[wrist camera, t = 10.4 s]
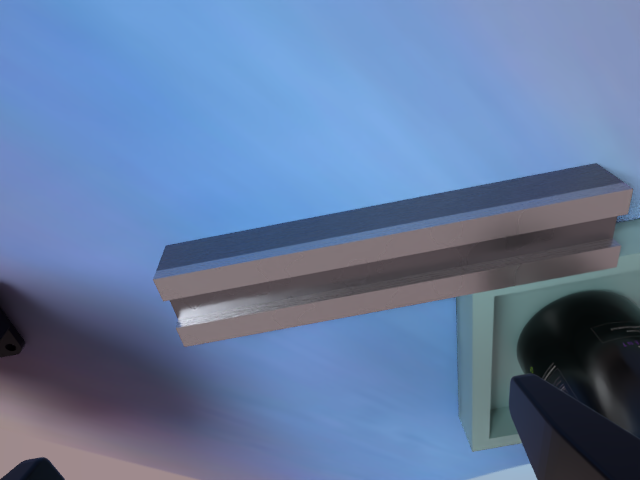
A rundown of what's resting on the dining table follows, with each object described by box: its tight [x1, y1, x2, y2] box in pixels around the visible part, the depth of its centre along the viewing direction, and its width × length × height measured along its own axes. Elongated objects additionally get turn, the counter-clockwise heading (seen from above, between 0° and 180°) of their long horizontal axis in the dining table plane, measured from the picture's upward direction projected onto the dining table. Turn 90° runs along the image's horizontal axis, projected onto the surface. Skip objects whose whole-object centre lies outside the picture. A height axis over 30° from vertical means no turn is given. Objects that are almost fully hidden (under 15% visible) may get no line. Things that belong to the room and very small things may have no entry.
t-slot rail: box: [153, 164, 633, 347], centre depth 21 cm, size 20×4×3 cm, turn 100°
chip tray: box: [456, 218, 640, 452], centre depth 25 cm, size 13×13×2 cm
